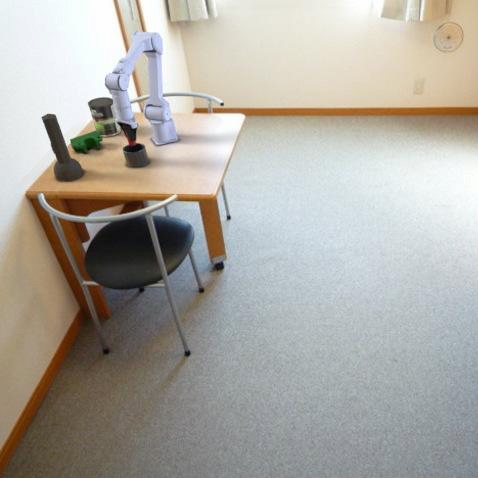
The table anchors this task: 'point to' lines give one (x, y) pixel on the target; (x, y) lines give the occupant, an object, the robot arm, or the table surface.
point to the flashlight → (61, 151)
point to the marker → (129, 139)
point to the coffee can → (104, 116)
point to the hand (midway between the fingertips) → (131, 139)
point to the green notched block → (86, 141)
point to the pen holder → (135, 155)
